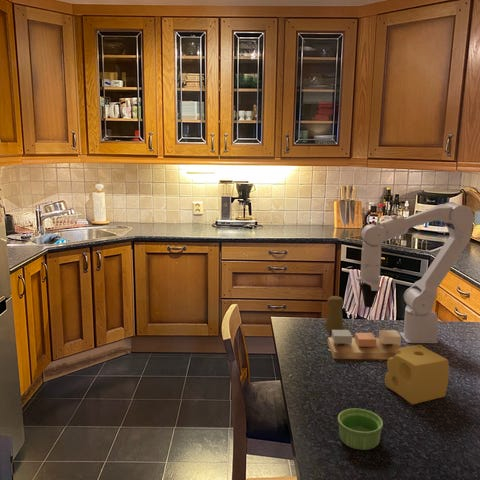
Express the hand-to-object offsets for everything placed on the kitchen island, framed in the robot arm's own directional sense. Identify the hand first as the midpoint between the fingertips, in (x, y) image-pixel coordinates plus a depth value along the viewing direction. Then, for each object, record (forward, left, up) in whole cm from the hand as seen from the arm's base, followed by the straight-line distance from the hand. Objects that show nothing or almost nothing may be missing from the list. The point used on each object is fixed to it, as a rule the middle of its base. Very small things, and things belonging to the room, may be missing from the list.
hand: (368, 306), depth 150 cm
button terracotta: (+3, +10, -8) cm, 13 cm away
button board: (+3, +10, -10) cm, 15 cm away
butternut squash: (+9, -8, -11) cm, 16 cm away
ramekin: (+14, +54, -11) cm, 57 cm away
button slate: (+10, +10, -7) cm, 16 cm away
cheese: (-4, +34, -11) cm, 36 cm away
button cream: (-4, +10, -7) cm, 13 cm away
